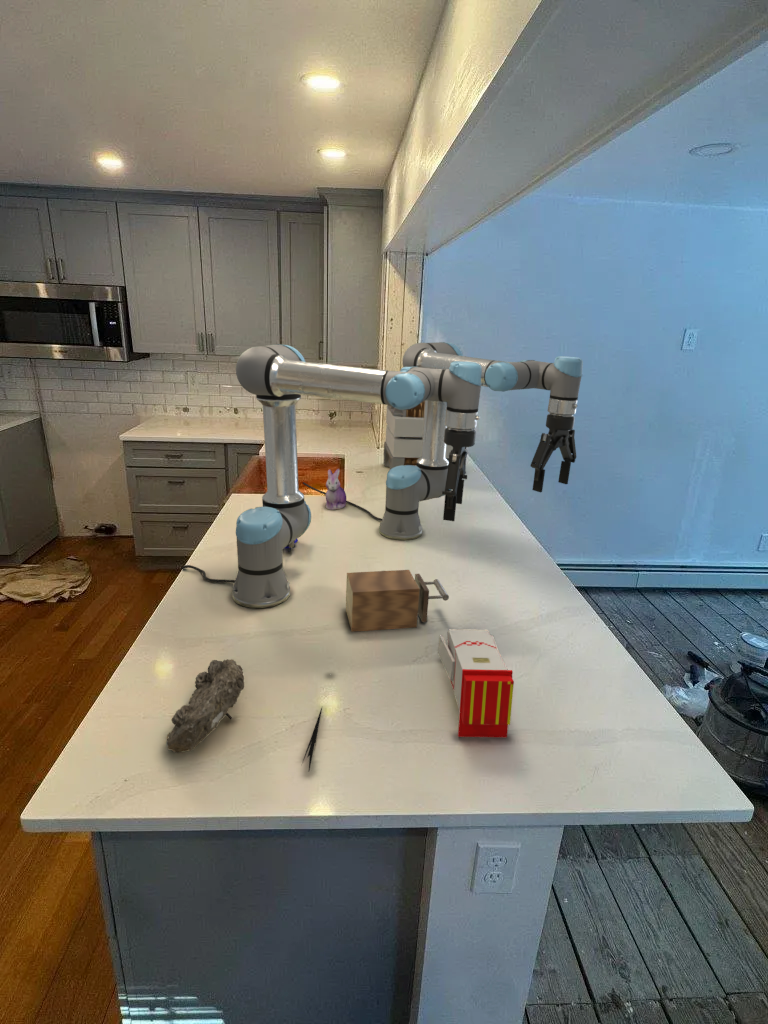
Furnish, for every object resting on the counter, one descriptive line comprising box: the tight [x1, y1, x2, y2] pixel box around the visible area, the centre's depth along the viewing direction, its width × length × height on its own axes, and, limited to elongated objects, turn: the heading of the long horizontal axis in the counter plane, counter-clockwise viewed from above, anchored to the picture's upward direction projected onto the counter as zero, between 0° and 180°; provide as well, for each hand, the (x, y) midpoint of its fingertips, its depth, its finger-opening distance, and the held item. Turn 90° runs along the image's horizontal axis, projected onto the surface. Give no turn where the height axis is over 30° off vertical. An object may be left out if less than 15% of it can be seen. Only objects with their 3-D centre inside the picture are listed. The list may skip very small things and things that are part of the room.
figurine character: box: [284, 538, 299, 553], centre depth 184 cm, size 7×8×15 cm
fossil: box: [166, 658, 245, 754], centre depth 106 cm, size 22×10×15 cm
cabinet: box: [345, 569, 419, 633], centre depth 143 cm, size 16×11×11 cm, turn 101°
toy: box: [437, 628, 515, 738], centre depth 117 cm, size 12×13×30 cm
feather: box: [301, 673, 332, 771], centre depth 108 cm, size 2×28×2 cm
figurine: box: [325, 468, 347, 510], centre depth 222 cm, size 9×10×15 cm
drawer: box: [414, 573, 450, 623], centre depth 144 cm, size 21×9×9 cm, turn 101°
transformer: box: [383, 401, 453, 470], centre depth 268 cm, size 34×33×41 cm
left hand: (452, 511), depth 143 cm, fingers open, 13 cm apart
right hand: (550, 487), depth 165 cm, fingers open, 13 cm apart
